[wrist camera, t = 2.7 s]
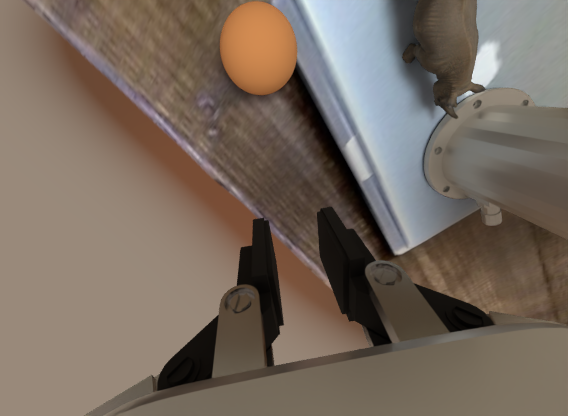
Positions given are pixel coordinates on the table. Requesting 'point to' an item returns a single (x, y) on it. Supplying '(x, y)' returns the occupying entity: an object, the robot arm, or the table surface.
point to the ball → (258, 48)
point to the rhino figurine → (446, 47)
